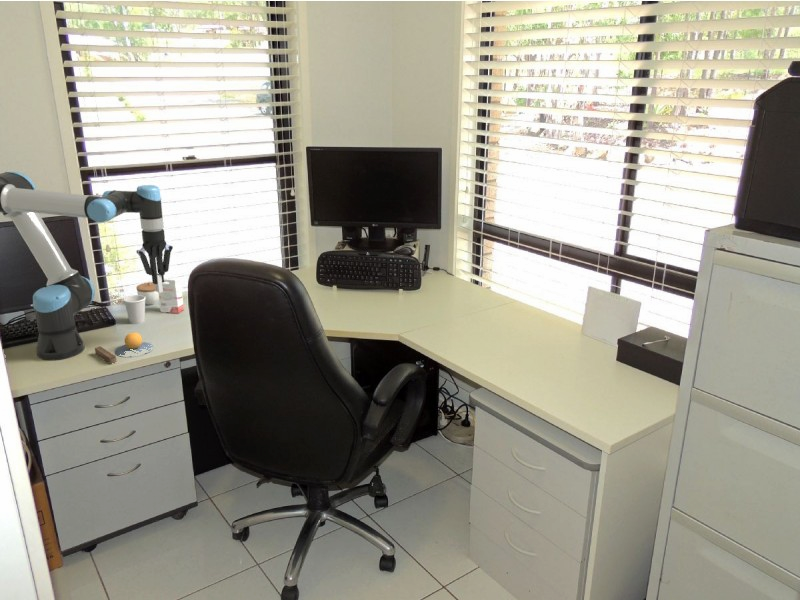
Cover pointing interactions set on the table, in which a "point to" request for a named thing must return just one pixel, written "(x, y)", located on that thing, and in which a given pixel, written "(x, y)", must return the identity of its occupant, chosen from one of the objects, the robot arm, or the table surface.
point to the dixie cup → (135, 308)
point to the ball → (133, 340)
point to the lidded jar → (148, 293)
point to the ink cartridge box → (171, 297)
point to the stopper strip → (105, 355)
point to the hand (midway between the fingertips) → (159, 291)
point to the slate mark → (125, 348)
